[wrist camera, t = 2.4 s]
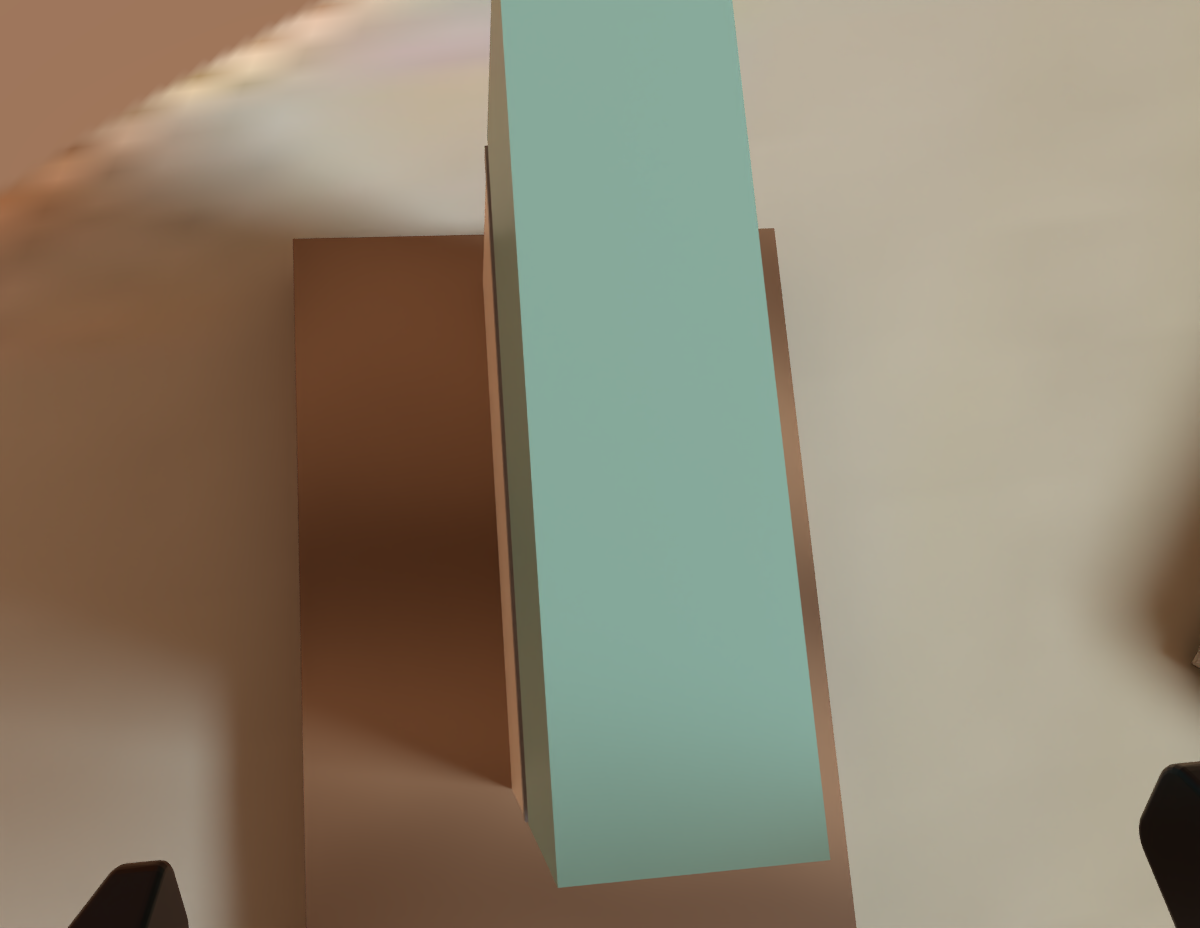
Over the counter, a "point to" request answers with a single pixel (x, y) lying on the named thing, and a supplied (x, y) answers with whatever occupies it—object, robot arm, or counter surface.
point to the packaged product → (1197, 659)
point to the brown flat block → (459, 623)
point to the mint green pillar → (644, 450)
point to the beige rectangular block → (503, 510)
